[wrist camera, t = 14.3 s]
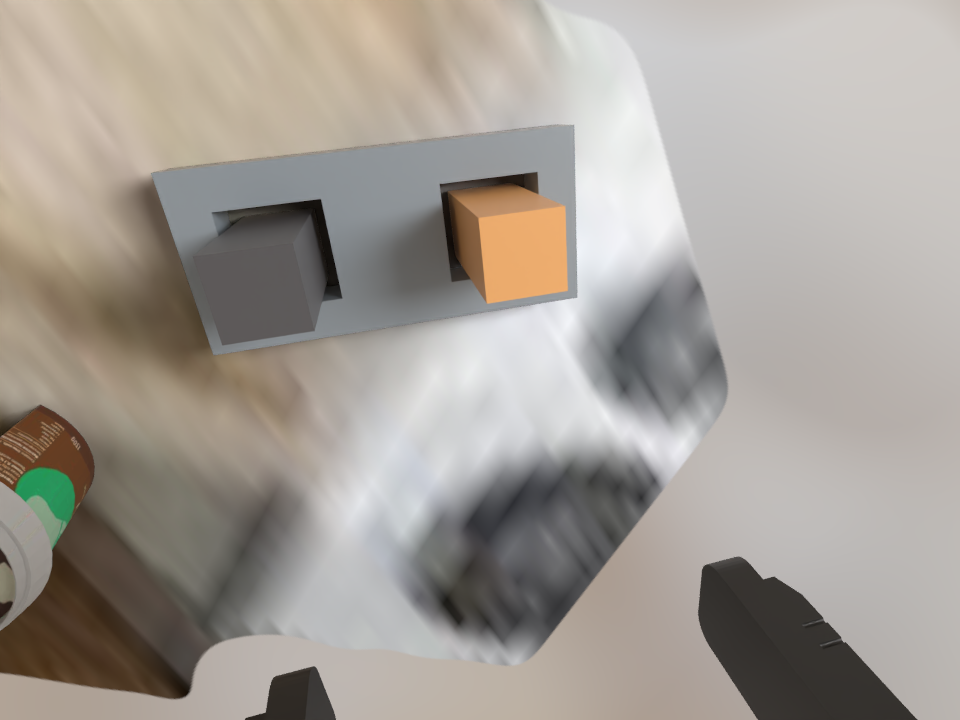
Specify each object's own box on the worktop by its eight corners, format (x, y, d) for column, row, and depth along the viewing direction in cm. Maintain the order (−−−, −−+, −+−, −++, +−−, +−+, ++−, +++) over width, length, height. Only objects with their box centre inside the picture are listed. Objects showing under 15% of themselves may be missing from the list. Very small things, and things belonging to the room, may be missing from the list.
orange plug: (455, 255, 34) (486, 303, 25) (447, 191, 32) (478, 217, 23) (515, 246, 34) (567, 290, 26) (511, 182, 33) (565, 205, 24)
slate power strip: (225, 336, 33) (173, 415, 24) (170, 168, 29) (83, 189, 20) (561, 284, 36) (625, 338, 27) (556, 124, 32) (630, 126, 23)
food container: (62, 559, 37) (-34, 698, 28) (-38, 524, 35) (-177, 663, 26) (151, 434, 35) (77, 543, 26) (51, 386, 32) (-69, 488, 24)
